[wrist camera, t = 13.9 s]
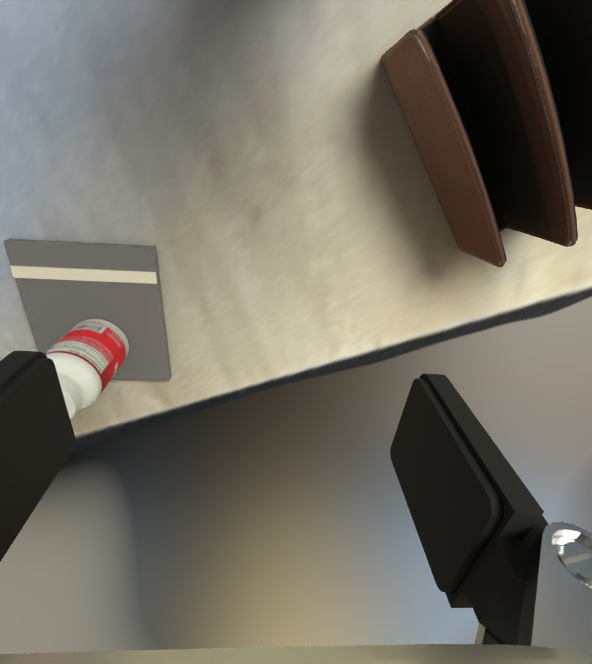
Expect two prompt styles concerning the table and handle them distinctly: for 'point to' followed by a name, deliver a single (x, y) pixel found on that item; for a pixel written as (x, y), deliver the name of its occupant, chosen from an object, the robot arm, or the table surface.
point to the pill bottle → (87, 361)
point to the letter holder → (502, 116)
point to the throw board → (95, 297)
